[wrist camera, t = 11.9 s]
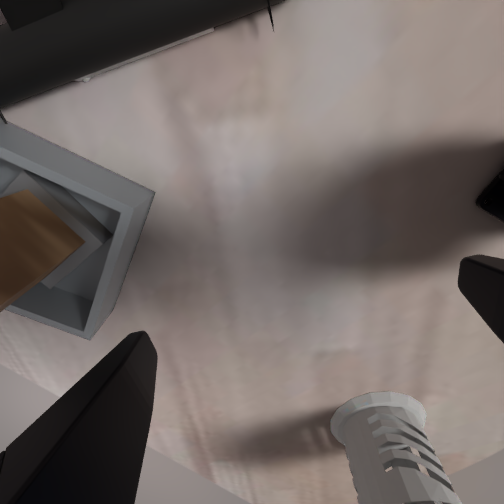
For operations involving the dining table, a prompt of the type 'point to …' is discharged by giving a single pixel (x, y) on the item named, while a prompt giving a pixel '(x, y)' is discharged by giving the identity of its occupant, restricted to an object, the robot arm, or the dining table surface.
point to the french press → (390, 451)
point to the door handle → (97, 36)
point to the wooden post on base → (42, 235)
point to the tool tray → (101, 207)
